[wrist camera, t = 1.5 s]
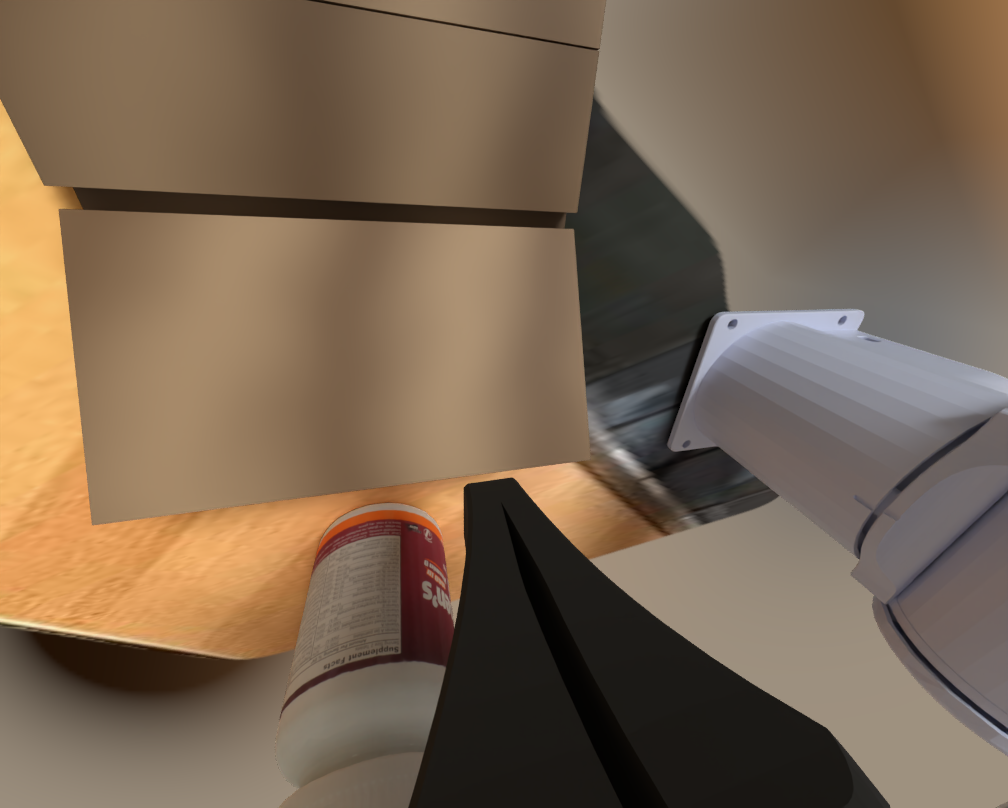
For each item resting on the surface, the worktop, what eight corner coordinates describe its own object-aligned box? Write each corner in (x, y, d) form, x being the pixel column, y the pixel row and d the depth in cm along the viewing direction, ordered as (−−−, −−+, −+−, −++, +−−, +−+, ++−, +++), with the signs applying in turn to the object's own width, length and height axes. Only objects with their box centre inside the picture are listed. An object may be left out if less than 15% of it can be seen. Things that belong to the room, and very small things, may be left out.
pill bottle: (453, 554, 21) (500, 847, 12) (349, 590, 20) (309, 933, 11) (422, 481, 18) (450, 811, 8) (295, 521, 17) (172, 930, 8)
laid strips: (607, -154, 9) (632, -196, 8) (561, 229, 13) (574, 232, 12) (-200, -418, 6) (-329, -550, 5) (91, 210, 10) (58, 213, 9)
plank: (559, 244, 14) (573, 229, 12) (575, 454, 14) (590, 459, 13) (99, 231, 10) (58, 208, 9) (128, 511, 10) (92, 525, 9)
